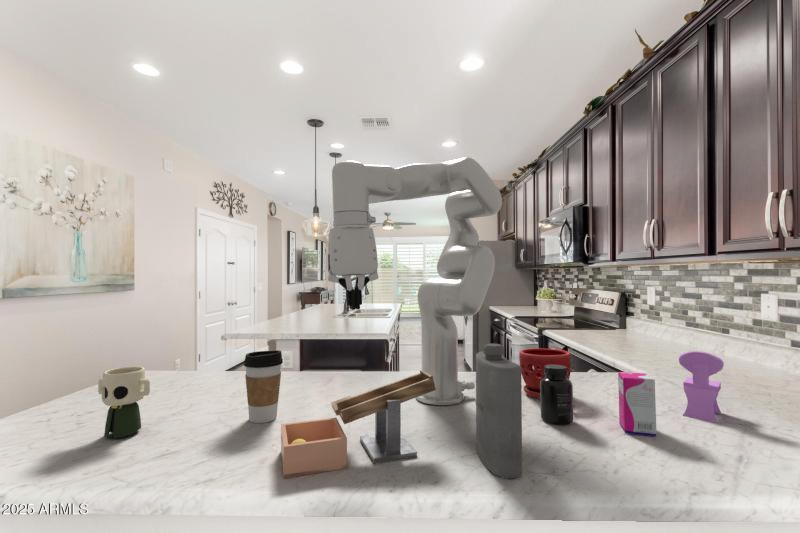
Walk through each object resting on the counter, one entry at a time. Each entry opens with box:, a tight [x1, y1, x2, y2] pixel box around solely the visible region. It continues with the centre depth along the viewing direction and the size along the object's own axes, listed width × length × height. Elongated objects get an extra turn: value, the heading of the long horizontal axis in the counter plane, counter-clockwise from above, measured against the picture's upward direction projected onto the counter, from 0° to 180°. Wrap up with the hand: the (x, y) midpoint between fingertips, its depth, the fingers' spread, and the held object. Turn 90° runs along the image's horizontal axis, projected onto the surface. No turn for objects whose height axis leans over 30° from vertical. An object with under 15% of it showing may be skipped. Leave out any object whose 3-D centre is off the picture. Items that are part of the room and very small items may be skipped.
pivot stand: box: [359, 399, 418, 464], centre depth 74 cm, size 8×10×10 cm
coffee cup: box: [243, 349, 284, 424], centre depth 89 cm, size 8×8×15 cm
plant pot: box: [518, 347, 572, 400], centre depth 106 cm, size 13×13×12 cm
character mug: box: [97, 365, 151, 438], centre depth 80 cm, size 11×7×13 cm, turn 86°
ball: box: [291, 439, 306, 444], centre depth 68 cm, size 3×3×3 cm
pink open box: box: [280, 417, 348, 479], centre depth 69 cm, size 10×10×5 cm
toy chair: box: [678, 350, 725, 423], centre depth 92 cm, size 8×9×15 cm
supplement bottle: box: [539, 365, 574, 426], centre depth 88 cm, size 7×7×12 cm
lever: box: [330, 369, 436, 425], centre depth 76 cm, size 18×10×3 cm, turn 110°
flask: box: [475, 343, 523, 480], centre depth 70 cm, size 15×6×20 cm, turn 2°
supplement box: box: [617, 371, 657, 438], centre depth 82 cm, size 6×6×12 cm
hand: (354, 308), depth 83 cm, fingers closed
